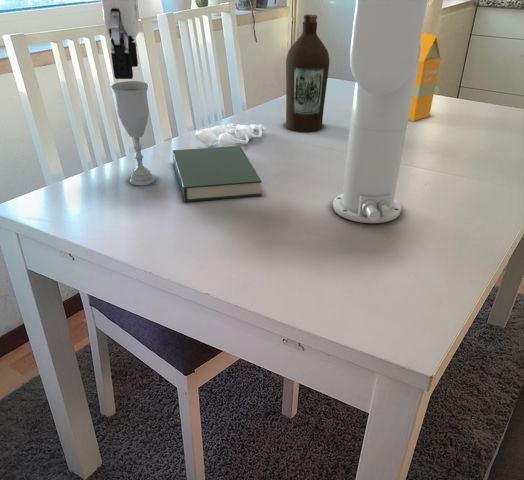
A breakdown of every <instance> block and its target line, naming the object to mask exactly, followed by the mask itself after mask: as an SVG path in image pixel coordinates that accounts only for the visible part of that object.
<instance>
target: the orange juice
mask: <svg viewBox="0 0 524 480" xmlns="http://www.w3.org/2000/svg"><path fill="white" fill-rule="evenodd" d="M437 36H438V35H436V34H431V33H423V32H421V52H420V58H419V64H418V69H417V74H416V79H415V84H414V89H413V95H412V100H411V106H410V112H409V118H408V121H411V122H415V121H419V120H422V119H425V118H428V117H430V114H431V109H432V105H433V100H434V99H433V98H434V94H435V89H436V85H437V79H438V73H439V69H440V63H441V58H442V57H441V56H440V48H439V43H438V37H437Z"/></svg>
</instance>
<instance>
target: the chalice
mask: <svg viewBox="0 0 524 480" xmlns="http://www.w3.org/2000/svg"><path fill="white" fill-rule="evenodd" d="M110 87H111V89H112V91H113V93H114V97H115V104H116V112H117V116H118V118H119V120H120V122H121V125H122V126H123V128H124V130H125V131H126V133H127V135H128V136H129V137H130V138H133V140H134V145H133V146H134V147H133V149H134V150H135V152H136V153H135V156H134V158H135V159H136V161H137V165H136V167H135V168H134V169H133V170H132V172H131V175H130V179H129V184H131V185H134V186H147V185H150V184H152V183H154V182H155V178H154V177H153V174H152V172H151V170H150V169H149V168H147V167H145V165H143V164H144V163H143V159H144V156H143V154H142V148H143V146H142V145H141V142H140V138H142V137H143V136H144V134H145V131H146V128H147V124H148V119H149V115H150V110H149V109H150V108H149V101H148V88H149V84H148V82H145V81H137V80H128V81H126V80H125V81H120V82H115V83H113V84H112V85H111V86H110Z"/></svg>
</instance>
